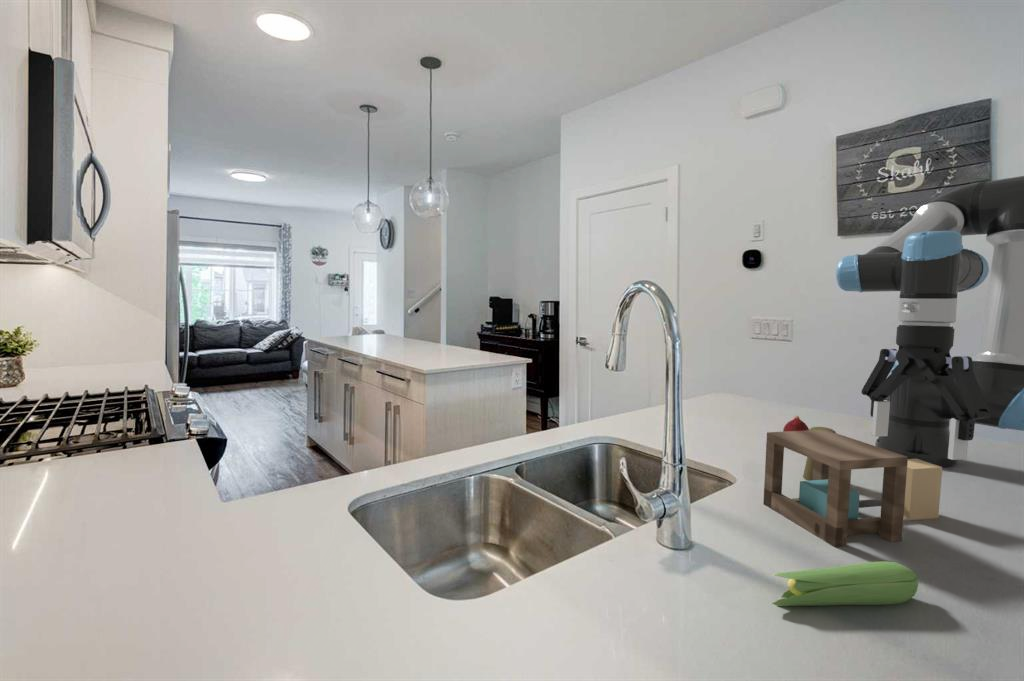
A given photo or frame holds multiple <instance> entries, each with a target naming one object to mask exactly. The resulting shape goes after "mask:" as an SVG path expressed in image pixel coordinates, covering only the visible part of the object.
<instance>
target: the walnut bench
mask: <svg viewBox="0 0 1024 681" xmlns="http://www.w3.org/2000/svg"><path fill="white" fill-rule="evenodd" d="M765 445H766V446H765V447H766V448H765V465H764V469H765V470H764V483H763V484H764V486H763V505H765V506H766V507H768V508H770V509H771V510H773V511H775V512H777V514H779V515H781V516H782V517H785V518H786V519H787V520H790V521H791V522H792V523H795V525H798V526H800V527H801V528H803V529H805V530H806V531H808V532H809V533H811V534H812V535H814V536H816V537H817V538H819V539H821V540H822V541H824V542H826V543H828V544H829V545H830V546H832V547H834V548H842V547H847V542H848V540H847V539H848V536H851V535H861V534H872V533H878V534H879V535H878V536H880V537H881V538H883V539H885V540H887V541H889V542H900V541H902V540H903V528H904V527H903V526H904V518H903V517H904V503H905V490H906V477H907V463H908V457H907V456H904V455H901V454H898V453H895V452H892V451H889V450H886V449H882V448H879V447H876V446H875V445H873V444H870V443H868V442H864V441H861V440H858V439H854V438H851V437H850V436H849V437H848V436H845V435H843V434H839V433H837V432H836V433H834V432H831V431H828V430H810V429H809V430H805V431H785V432H783V431H769V432H766V444H765ZM785 449H787V450H790V451H792V452H795V453H798V454H800V455H802V456H804V457H806V458H807V457H809V458H811V459H813V476H812V480H825V479H828V491H827V507H826V518H825V517H823V516H821V515H819V514H817V513H816V512H814V511H812V510H810V509H808V508H806V507H805V506H803V505H801V504H799V497H797V498H796V497H795V498H794V497H793V498H789V497H788V496H786V495H784V494H783V473H784V457H785V456H784V455H785V451H784V450H785ZM878 468H883V476H882V477H883V478H882V490H881V499H882V502H881V506H880V516H873V517H866V518H862V517H861V518H858V519H851V520H848V514H849V498H850V488H851V481H852V480H851V479H852V470H863V469H878Z"/></svg>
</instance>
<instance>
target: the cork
mask: <svg viewBox="0 0 1024 681" xmlns="http://www.w3.org/2000/svg"><path fill="white" fill-rule="evenodd" d="M809 430H828V431H831V432H834V433H837V432H836V431H835V430H834V429H832V428H829V427H827V426H812V427H811V428H809ZM812 476H813V459H811V458H809V457H807V456H806V460H805V465H804V469H803V474H802V478H803V479H804V480H805V481H811V480H812Z"/></svg>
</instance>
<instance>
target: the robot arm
mask: <svg viewBox="0 0 1024 681" xmlns="http://www.w3.org/2000/svg"><path fill="white" fill-rule="evenodd" d="M976 235H985V236H986V237H985V241H986V242H988V243H989V244H990V245H992V246H993V254H992V260H991V266H990V268H989V263H988V260H987V259H986V258H985V257H984V256H983V255H981V253H978V252H976V251H973V250H972V249H968V248H964V246H963V236H976ZM835 271H836V272H835V274H836V275H835V277H836V283H837V285H838V287H839V288H840V289H841V290H843V291H845V292H859V293H865V292H867V293H868V292H869V293H871V292H874V293H875V292H899V301H898V313H897V314H898V316H897V321H898V322H901V324H899V325H898V326H896V334H895V335H896V338H895V344H896V345H897V346H898V348H897V349H896V348H882V349H880V351H879V357H878V361H877V363H876V364H875V366H874V368H873V370H872V371H871V372H870V374H869V376H868V379H867V380H866V382H865V384H864V385H863V387H862V389H861V395H863V396H867V397H868V398H869V399H870V417H871V418H872V426H871V436H873V437H876V438H877V439H875V440H876V441H875V442H874V443H875V444H874V446H876V447H879V448H882V449H886V450H889V451H892V452H895V453H898V454H901V455H904V456H907V457H908V459H919V460H922V461H925V462H928V463H931V464H934V465H938V466H941V467H942V468H948V467H950V466H951V467H954V465H955V466H956V465H957V463H958V460H967V459H968V448H969V441H973V439H974V437H975V436H974V435H975V425H976V424H977V425H980V426H988V427H991V428H992V427H993V428H994V427H995V428H998V429H1001V430H1014V431H1021V432H1024V175H1022V176H1015V177H1007V178H1002V179H995V180H988V181H980V182H975V183H974V182H973V183H971V184H967V185H963V186H960V187H958V188H955V189H952V190H950V191H948V192H946V193H943V194H941V195H939V196H937V197H935V198H933V199H932V200H930V201H928V202H927V203H925V204H924V205H922V206H921V207H920V208H919V209H917V210H916V211H915V213H914V214H913V216H912V218H911V219H910V220H909V222H908V221H907V223H905V224H904V225H903V226H901V227H899V229H897V230H896V231H895V232H893V233H892V234H891V235H889V236H888V237H887V238H885V239H884V240H883V241H881V242H880V243H879V244H877V245H876V246H874V247H873V248H871V249H870V250H869V251H868V252H866V253H864V254H858V253H856V254H853V255H846V256H843V257H842V258H841V259H840V260H839V262H838V264H837V266H836V269H835ZM989 273H990V274H989ZM988 274H989V279H988V284H987V285H988V286H987V291H986V297H985V298H986V299H985V306H984V309H983V310H984V311H983V316H982V317H983V318H982V323H981V324H982V325H981V329H980V330H981V331H980V337H979V343H978V344H979V345H978V349H977V353H976V355H973V356H972V357H971V356H968V355H967V356H964V355H962V356H960V355H959V356H951V350H952V348H953V346H954V340H955V329H956V328H954V326H951V324H954V323H955V322H956V320H957V306H958V305H957V304H958V293H962V292H965V291H971V290H973V289H975V288H977V287H978V286H980V285H981V284H982V283H984V281H985V280H986V278H987V277H988Z"/></svg>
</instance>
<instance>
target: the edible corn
mask: <svg viewBox="0 0 1024 681" xmlns="http://www.w3.org/2000/svg"><path fill="white" fill-rule="evenodd" d="M774 576H775V577H780V578H784V579H789V580H788V581H787V588H788V590H787V591H785V592H783V594H782V595H781V599H777V600H776V601H774V602H772V603H771V604H773V605H775V606H777V607H795V606H814V607H815V606H849V605H850V606H852V605H853V606H854V605H857V606H859V605H862V606H863V605H864V606H869V605H870V606H871V605H873V606H875V605H876V606H879V605H880V606H881V605H896V604H903V603H906V602H907V601H910V600H911V599H912V598H914V597H915V595H916V593H917V591H918V588H919V577H918V575H917V574H916V573H915V572H914V571H913V570H912V569H910V568H908V567H907V566H906V565H904V564H901V563H898V562H896V561H895V562H894V561H884V560H883V561H869V562H861V563H854V564H852V563H851V564H846V565H839V566H832V567H823V568H815V569H805V570H796V571H789V572H788V571H787V572H785V571H784V572H778V573H776V574H775V575H774Z"/></svg>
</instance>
